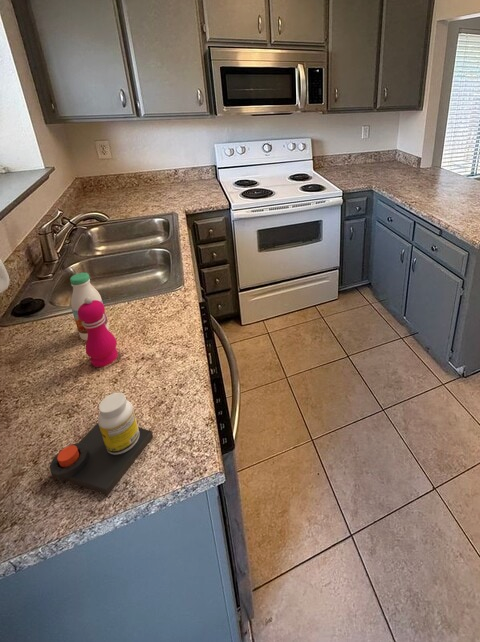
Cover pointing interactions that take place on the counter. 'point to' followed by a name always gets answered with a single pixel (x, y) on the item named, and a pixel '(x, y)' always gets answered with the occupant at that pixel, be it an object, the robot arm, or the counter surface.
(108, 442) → the pill bottle
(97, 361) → the pepper mill
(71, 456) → the button
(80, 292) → the milk bottle
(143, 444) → the black kitchen scale
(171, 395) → the counter surface
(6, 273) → the robot arm
